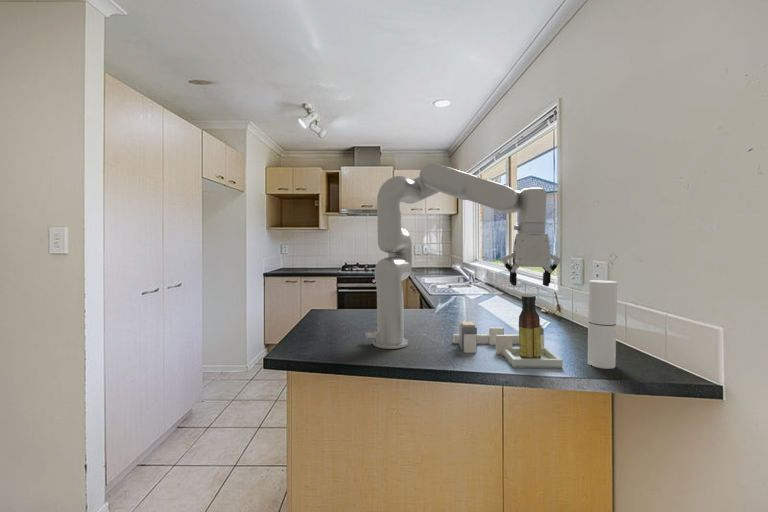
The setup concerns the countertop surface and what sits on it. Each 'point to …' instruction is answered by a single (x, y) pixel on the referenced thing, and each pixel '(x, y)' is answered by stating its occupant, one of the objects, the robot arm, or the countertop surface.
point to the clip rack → (486, 338)
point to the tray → (546, 359)
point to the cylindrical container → (602, 323)
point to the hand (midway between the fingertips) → (529, 285)
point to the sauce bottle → (529, 329)
